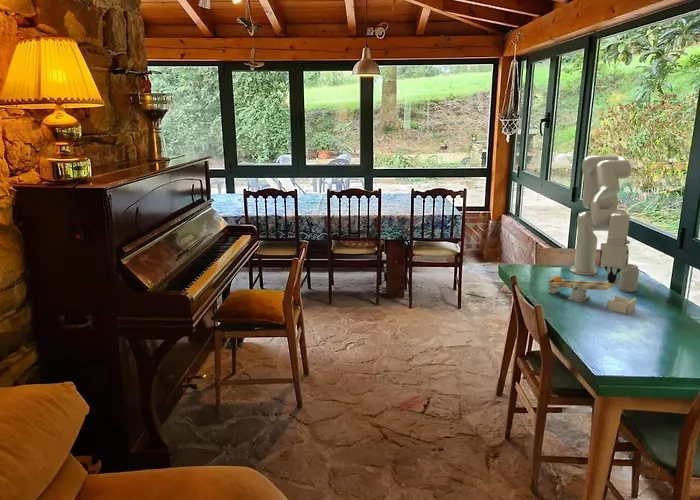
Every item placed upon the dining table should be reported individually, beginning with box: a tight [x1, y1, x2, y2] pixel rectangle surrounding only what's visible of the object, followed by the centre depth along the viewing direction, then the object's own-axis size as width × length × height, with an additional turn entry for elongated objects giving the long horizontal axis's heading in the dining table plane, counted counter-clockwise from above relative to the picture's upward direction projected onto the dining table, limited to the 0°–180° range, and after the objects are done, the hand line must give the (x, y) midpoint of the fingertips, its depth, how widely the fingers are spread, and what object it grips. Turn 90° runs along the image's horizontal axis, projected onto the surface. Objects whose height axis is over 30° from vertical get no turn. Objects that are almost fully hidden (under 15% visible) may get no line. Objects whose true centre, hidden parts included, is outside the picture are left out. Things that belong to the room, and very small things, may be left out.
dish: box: [606, 295, 637, 316], centre depth 222 cm, size 8×8×5 cm
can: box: [618, 263, 640, 293], centre depth 244 cm, size 8×8×12 cm
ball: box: [552, 275, 563, 282], centre depth 240 cm, size 4×4×4 cm
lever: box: [548, 278, 619, 291], centre depth 236 cm, size 25×14×3 cm, turn 43°
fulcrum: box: [547, 284, 590, 304], centre depth 237 cm, size 16×11×7 cm, turn 44°
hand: (611, 281), depth 231 cm, fingers closed
